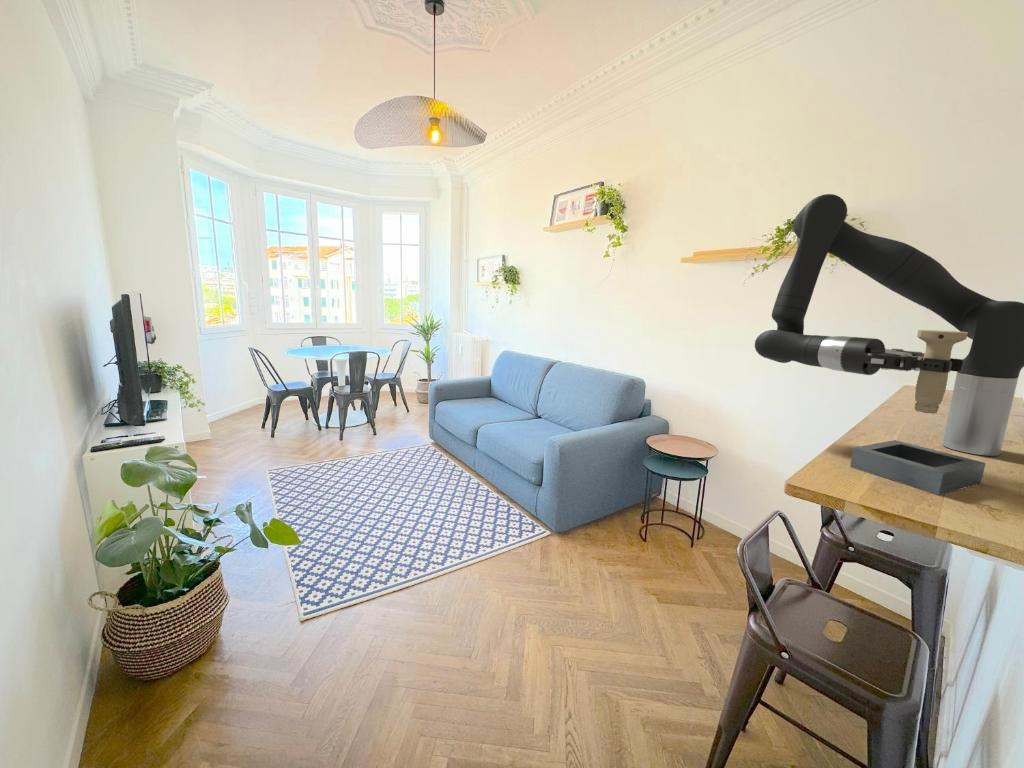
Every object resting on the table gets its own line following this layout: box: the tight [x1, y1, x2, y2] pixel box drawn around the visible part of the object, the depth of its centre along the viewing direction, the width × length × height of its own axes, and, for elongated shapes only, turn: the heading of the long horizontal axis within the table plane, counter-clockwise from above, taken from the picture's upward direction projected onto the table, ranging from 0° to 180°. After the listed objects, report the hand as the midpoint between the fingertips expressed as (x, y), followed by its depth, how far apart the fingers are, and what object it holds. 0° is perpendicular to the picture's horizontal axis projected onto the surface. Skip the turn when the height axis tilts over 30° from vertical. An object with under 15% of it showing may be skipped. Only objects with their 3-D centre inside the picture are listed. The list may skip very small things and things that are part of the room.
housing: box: [849, 439, 986, 496], centre depth 83 cm, size 14×14×4 cm
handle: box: [914, 329, 968, 414], centre depth 79 cm, size 5×6×15 cm
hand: (956, 366), depth 76 cm, fingers closed on handle, 3 cm apart
